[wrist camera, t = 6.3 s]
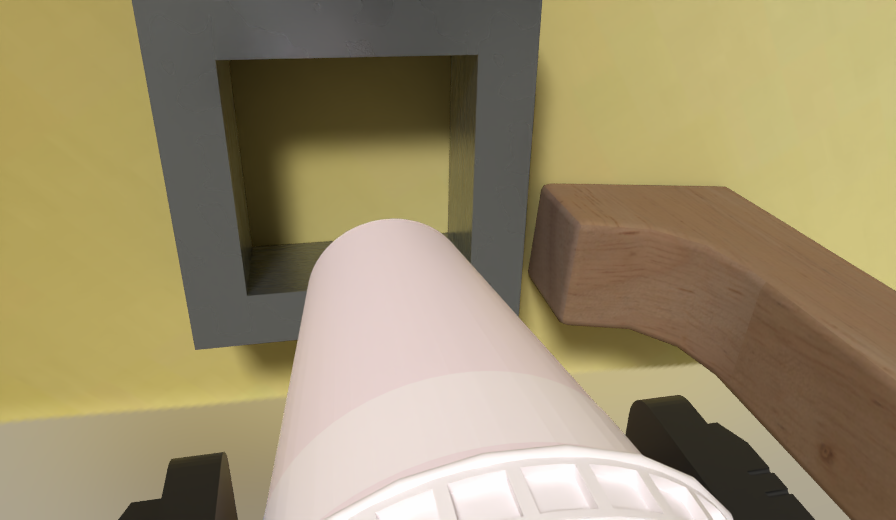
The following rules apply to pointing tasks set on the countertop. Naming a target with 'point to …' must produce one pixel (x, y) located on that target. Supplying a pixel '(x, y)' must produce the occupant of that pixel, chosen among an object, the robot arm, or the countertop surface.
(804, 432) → the wooden block
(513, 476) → the smoothie
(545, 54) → the countertop surface
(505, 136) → the frame
